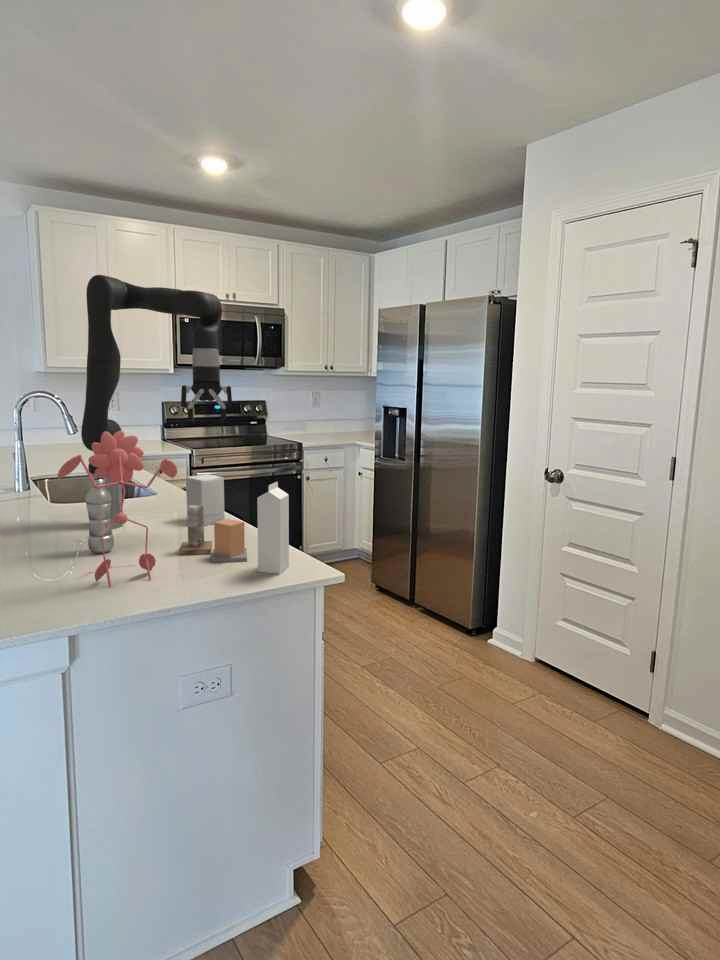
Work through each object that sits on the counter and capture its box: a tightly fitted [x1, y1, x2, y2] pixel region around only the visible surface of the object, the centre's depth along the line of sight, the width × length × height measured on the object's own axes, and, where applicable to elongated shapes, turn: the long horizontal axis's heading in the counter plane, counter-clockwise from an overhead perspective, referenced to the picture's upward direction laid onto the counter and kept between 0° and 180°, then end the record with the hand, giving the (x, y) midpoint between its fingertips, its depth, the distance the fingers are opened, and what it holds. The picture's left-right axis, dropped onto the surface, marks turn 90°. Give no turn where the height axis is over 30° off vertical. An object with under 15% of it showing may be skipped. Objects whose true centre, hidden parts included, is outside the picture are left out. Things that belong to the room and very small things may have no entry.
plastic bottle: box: [84, 478, 115, 554], centre depth 166 cm, size 6×7×20 cm
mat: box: [211, 547, 248, 564], centre depth 165 cm, size 9×9×1 cm
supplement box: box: [185, 473, 226, 526], centre depth 201 cm, size 9×9×15 cm
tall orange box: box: [213, 518, 246, 557], centre depth 165 cm, size 5×6×8 cm
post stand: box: [179, 505, 213, 556], centre depth 169 cm, size 11×11×12 cm
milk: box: [256, 481, 290, 575], centre depth 154 cm, size 6×6×22 cm
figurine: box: [57, 430, 178, 588], centre depth 146 cm, size 15×26×35 cm, turn 126°
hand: (207, 422), depth 180 cm, fingers open, 8 cm apart
